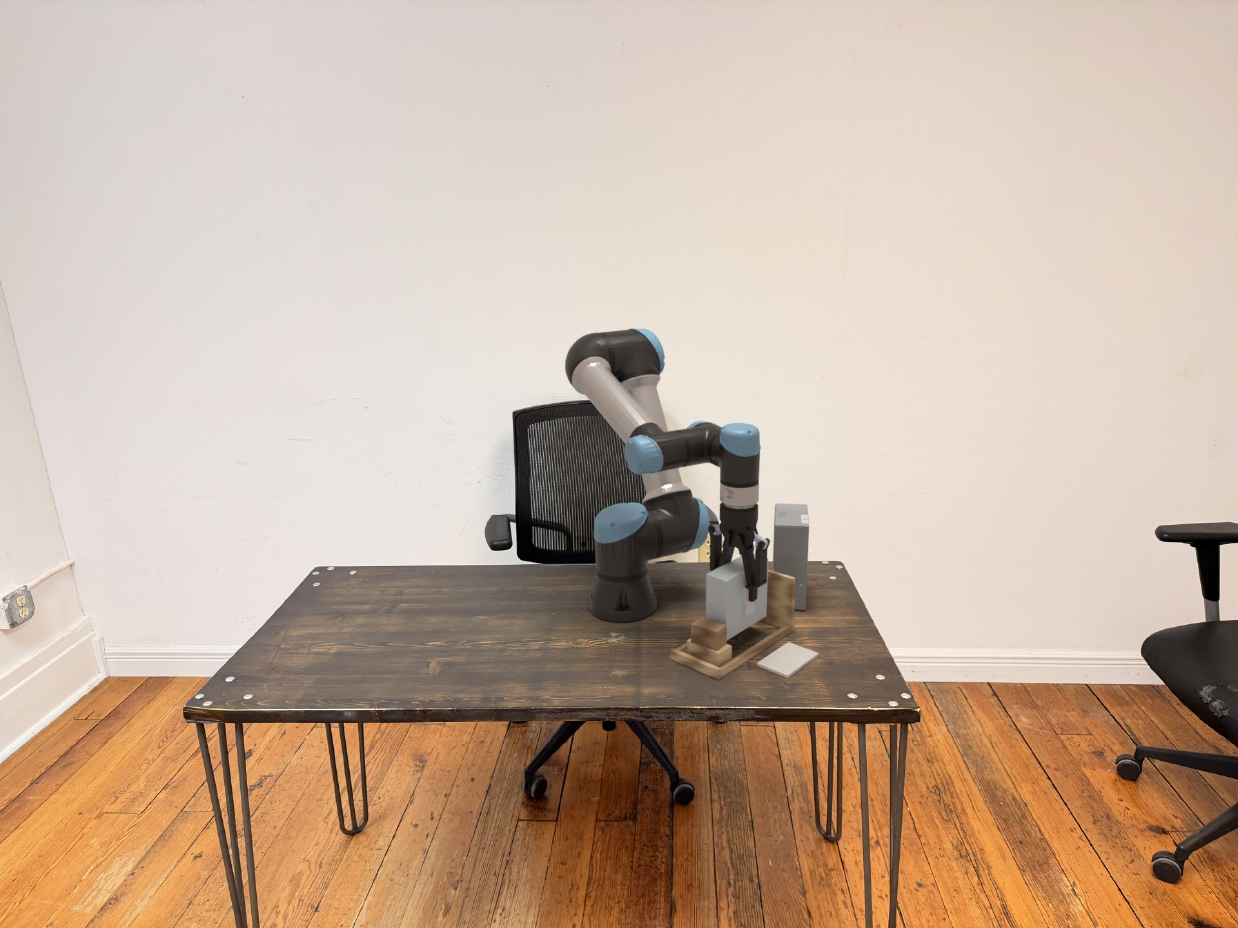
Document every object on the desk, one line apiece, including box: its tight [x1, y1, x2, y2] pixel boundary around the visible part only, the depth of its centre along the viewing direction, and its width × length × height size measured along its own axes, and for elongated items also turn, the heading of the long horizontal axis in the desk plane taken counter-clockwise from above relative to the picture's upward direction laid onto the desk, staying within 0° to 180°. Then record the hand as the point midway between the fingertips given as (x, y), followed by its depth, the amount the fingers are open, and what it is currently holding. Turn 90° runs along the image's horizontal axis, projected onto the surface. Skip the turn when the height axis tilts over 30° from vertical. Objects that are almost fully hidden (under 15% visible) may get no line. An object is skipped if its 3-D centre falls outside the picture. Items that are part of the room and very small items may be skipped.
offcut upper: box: [690, 616, 728, 651], centre depth 160 cm, size 6×4×4 cm, turn 53°
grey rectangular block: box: [705, 553, 769, 641], centre depth 166 cm, size 5×14×13 cm, turn 136°
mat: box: [756, 641, 820, 679], centre depth 161 cm, size 7×11×1 cm, turn 136°
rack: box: [669, 568, 796, 681], centre depth 166 cm, size 12×26×12 cm, turn 136°
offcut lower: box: [686, 637, 733, 668], centre depth 161 cm, size 8×4×4 cm, turn 45°
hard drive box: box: [772, 502, 810, 611], centre depth 186 cm, size 16×8×20 cm, turn 168°
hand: (736, 609), depth 167 cm, fingers closed on grey rectangular block, 5 cm apart
